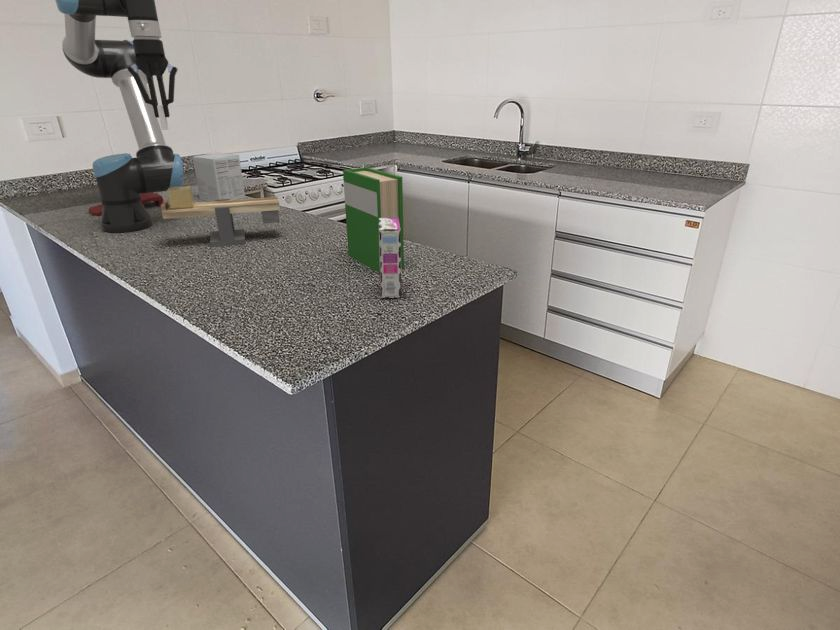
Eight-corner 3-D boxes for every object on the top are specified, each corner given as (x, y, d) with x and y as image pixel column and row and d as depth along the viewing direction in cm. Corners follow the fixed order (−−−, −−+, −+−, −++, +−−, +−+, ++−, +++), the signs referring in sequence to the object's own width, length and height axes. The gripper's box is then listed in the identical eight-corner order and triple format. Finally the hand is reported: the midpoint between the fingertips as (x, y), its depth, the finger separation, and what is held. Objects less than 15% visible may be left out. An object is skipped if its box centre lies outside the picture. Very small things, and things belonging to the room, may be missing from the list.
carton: (99, 226, 192) (167, 206, 204) (93, 214, 189) (162, 194, 202) (92, 220, 200) (158, 201, 213) (87, 208, 198) (153, 189, 210)
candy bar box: (402, 298, 119) (401, 229, 112) (380, 299, 119) (378, 230, 112) (400, 281, 129) (398, 216, 123) (380, 282, 129) (377, 217, 122)
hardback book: (403, 268, 138) (402, 176, 128) (379, 274, 134) (376, 180, 124) (371, 251, 151) (367, 167, 141) (348, 256, 147) (342, 169, 137)
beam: (169, 224, 160) (164, 199, 157) (279, 215, 169) (276, 192, 166) (166, 232, 152) (160, 206, 148) (281, 222, 160) (278, 198, 157)
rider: (173, 207, 156) (169, 187, 154) (194, 205, 158) (190, 185, 155) (171, 211, 152) (167, 190, 149) (193, 209, 153) (189, 189, 151)
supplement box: (246, 197, 218) (240, 154, 211) (220, 203, 208) (212, 158, 201) (225, 194, 225) (218, 152, 217) (199, 200, 215) (191, 156, 207)
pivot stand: (212, 236, 166) (206, 200, 161) (244, 233, 169) (239, 198, 164) (210, 247, 156) (203, 209, 151) (245, 243, 158) (239, 206, 154)
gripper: (118, 37, 138) (138, 131, 148) (171, 38, 141) (187, 129, 151) (123, 39, 144) (142, 129, 154) (174, 40, 148) (189, 127, 158)
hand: (165, 129), depth 153 cm, fingers closed
